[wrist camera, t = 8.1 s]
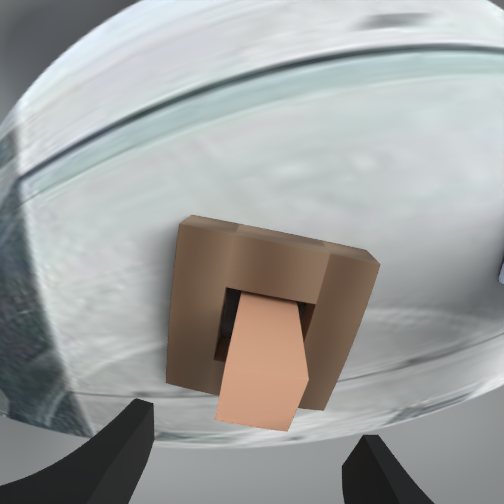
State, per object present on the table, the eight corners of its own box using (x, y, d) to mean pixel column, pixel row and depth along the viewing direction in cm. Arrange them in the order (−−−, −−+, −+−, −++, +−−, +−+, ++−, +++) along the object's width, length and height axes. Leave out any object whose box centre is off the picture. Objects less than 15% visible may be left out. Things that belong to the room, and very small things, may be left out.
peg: (295, 291, 18) (309, 379, 10) (283, 334, 19) (287, 431, 11) (244, 281, 18) (225, 365, 10) (235, 325, 19) (214, 419, 11)
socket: (366, 250, 17) (380, 264, 15) (319, 386, 20) (323, 410, 18) (192, 214, 17) (179, 224, 15) (175, 360, 20) (165, 383, 18)
